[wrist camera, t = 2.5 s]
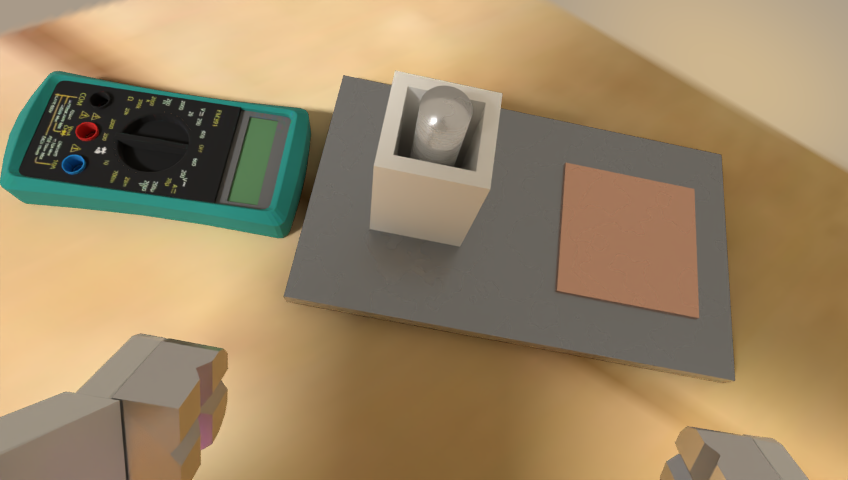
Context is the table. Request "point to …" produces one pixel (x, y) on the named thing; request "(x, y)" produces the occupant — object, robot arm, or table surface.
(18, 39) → the table surface
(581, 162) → the post plate
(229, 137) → the digital multimeter
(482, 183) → the sleeve
